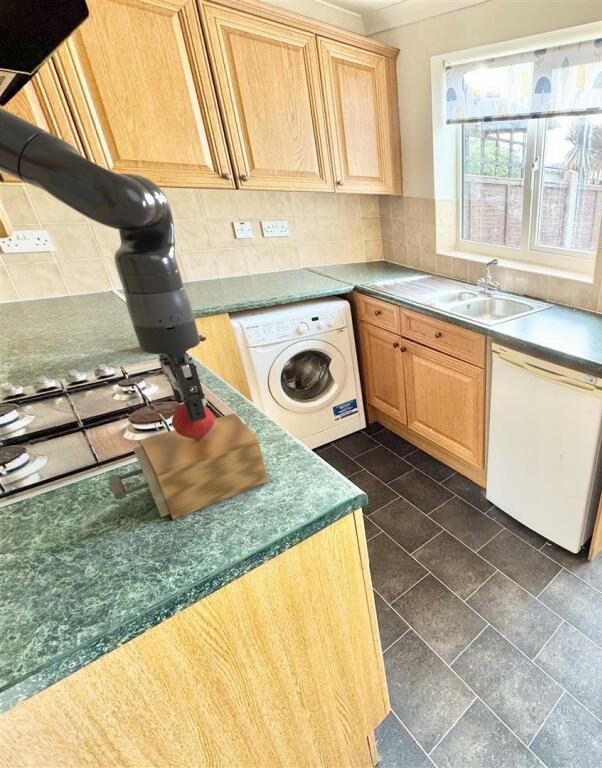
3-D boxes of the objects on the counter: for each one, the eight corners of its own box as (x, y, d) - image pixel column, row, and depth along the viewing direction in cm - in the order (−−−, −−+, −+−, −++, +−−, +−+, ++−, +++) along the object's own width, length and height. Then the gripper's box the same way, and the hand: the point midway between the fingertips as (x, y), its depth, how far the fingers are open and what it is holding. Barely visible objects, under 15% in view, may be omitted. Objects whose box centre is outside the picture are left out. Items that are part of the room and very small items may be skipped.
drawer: (127, 530, 65) (110, 490, 62) (115, 495, 72) (99, 457, 69) (252, 481, 77) (243, 446, 74) (232, 455, 84) (223, 421, 81)
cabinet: (173, 520, 69) (155, 472, 65) (156, 484, 76) (139, 439, 72) (268, 481, 79) (258, 438, 75) (245, 453, 86) (234, 412, 82)
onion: (170, 442, 72) (156, 401, 69) (203, 427, 77) (192, 388, 74) (193, 451, 70) (180, 409, 67) (226, 435, 75) (215, 395, 72)
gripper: (123, 311, 66) (154, 402, 73) (141, 334, 57) (174, 434, 64) (181, 304, 71) (204, 390, 78) (205, 324, 63) (229, 418, 69)
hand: (191, 410), depth 71 cm, fingers open, 8 cm apart
